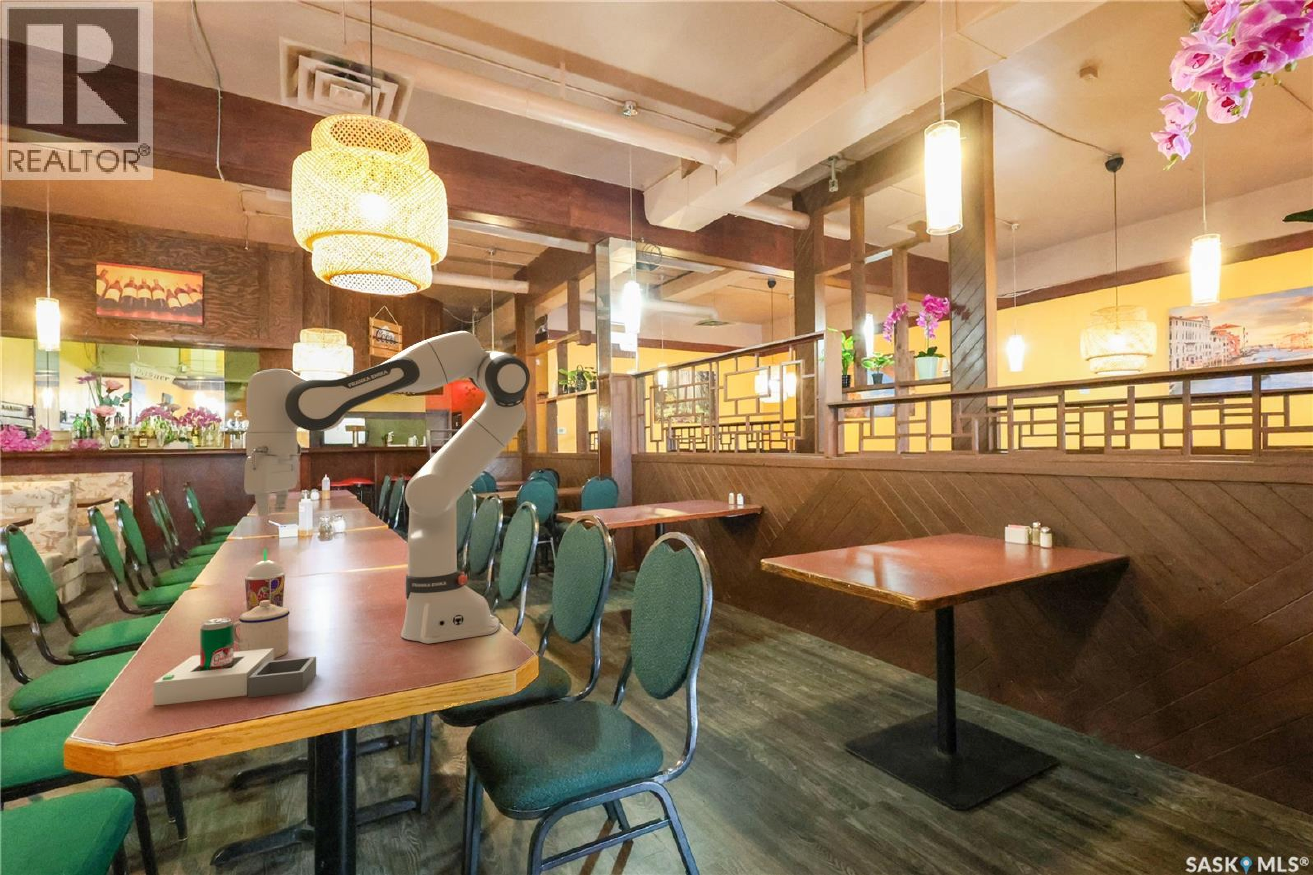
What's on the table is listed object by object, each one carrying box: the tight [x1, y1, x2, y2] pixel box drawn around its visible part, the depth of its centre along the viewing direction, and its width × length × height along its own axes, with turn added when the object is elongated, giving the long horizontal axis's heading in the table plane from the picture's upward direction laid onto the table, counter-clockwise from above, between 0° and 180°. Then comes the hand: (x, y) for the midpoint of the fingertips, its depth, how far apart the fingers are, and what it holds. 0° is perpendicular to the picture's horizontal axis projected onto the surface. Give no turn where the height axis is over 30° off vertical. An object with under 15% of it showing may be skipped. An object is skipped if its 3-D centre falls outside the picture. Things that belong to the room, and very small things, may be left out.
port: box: [153, 648, 275, 707], centre depth 111 cm, size 14×14×4 cm
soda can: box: [199, 617, 235, 671], centre depth 111 cm, size 5×5×12 cm
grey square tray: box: [248, 655, 317, 699], centre depth 111 cm, size 9×9×4 cm
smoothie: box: [244, 548, 286, 612], centre depth 146 cm, size 8×8×20 cm
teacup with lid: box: [233, 600, 290, 659], centre depth 128 cm, size 12×9×12 cm
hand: (272, 513), depth 123 cm, fingers open, 8 cm apart
